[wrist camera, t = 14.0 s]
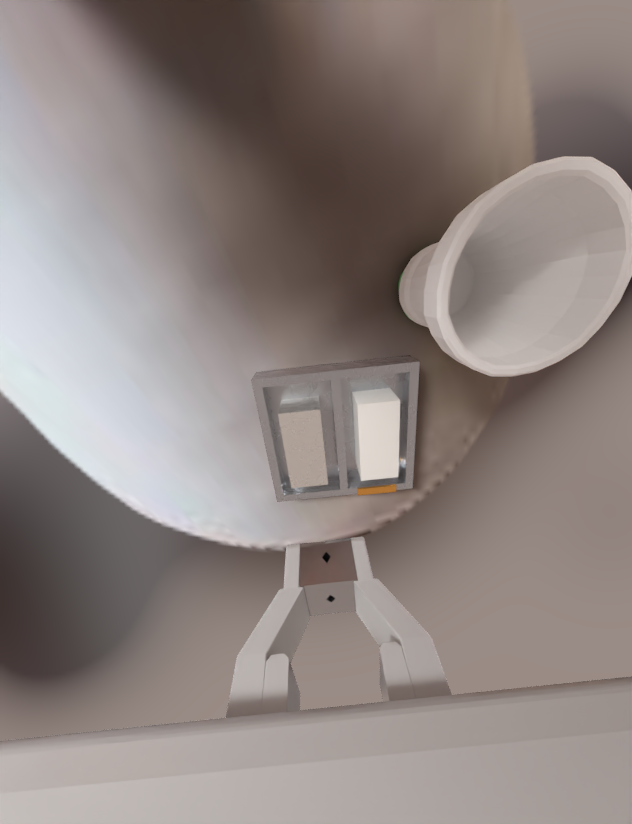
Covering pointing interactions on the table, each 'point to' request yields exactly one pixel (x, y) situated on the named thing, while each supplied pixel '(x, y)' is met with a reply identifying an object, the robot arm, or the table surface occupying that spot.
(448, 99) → the table surface
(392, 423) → the white rectangular block
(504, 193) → the cup
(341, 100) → the table surface
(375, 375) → the tray
